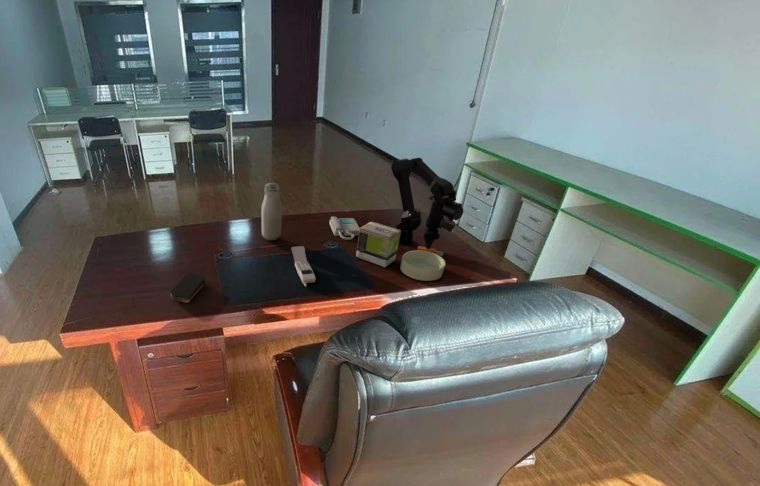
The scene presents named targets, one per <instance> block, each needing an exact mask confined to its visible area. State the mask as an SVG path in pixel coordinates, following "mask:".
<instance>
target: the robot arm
mask: <svg viewBox="0 0 760 486" xmlns="http://www.w3.org/2000/svg"><path fill="white" fill-rule="evenodd" d="M390 166H391V167H390V168H391V172H392V176H393V177H394V178H395V179H396V180H397V183H398V189H399V194H400V195H399V196H400V201H401V207H402V215H401V216H400V220H401V221H400V223H397V224H396V225H395V229H399V230H401V234H400V239H399V244H401V245H407V246H411V243H412V241H413V239H414V234H415V233H414V231H416V230H418V228H419V227H420V226H421V224H422V221H423V218H422V216H421V211H417V209H415V204H414V198H413V192H412V191H413V190H412V186H411V181H410V177H411V173H412V170H413V171H414V172H415V173H416V174H417V175H418V176H419V177H420V178H421V179H422V180H423V181H424V182H425V183H426V184H427V185H428V186H429V191H430V193H431V194H432V195H431V196H429V197H428V200H430V201H432V203H431V205H430V210H429V213H428V216H427V217H426V222H425V229H424V232H423V239H424V243H425V244H424V245H425V247H426V248H427V249H429V248H431V247H432V245H433V243H434V242H435V241H436V240H439V239H440V237H441V231H440V229H444V230H446V231H447V232H450V233H451V232H452V231H453V230H454V229H455V227H456V225H457V224H456V223H457V222H456V221H459V220H460V219H461V218H462V216H463V214H464V212H465V211H464V208H463V203H461V202H457V197H456V194H455V193H456V192H455V189H454V185H453V183H452V182H450V181H449V180H448V179H446V178H444V177H440V176H439V175H438V174H436V172H435V171H434V170H433V169H431V168H430V167H429V166H428V164H427V163H426V162H424V160H423V159H422V158H421V157H414V158H410V159H409V158H402V159H397V160H394V161H393V162H392V164H391V165H390ZM399 244H398V245H399Z"/></svg>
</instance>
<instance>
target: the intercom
mask: <svg viewBox="0 0 760 486" xmlns="http://www.w3.org/2000/svg"><path fill="white" fill-rule="evenodd" d="M329 226H330V228H331V232H332V233H333V236H335V237H340V238H341V239H342V240H345V241H346V240H347V241H350V240H353V239H354V238H355V236H359V231H360V228H361V227H359V225H358V222H357V221H356V219H355V218H352V217H349V218H348V217H347V218H346V217H345V218H343V217H342V218H338V217H337V216H330V219H329ZM347 236H349V237H347Z"/></svg>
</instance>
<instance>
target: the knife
mask: <svg viewBox="0 0 760 486" xmlns="http://www.w3.org/2000/svg"><path fill="white" fill-rule="evenodd" d="M417 250H420V251H428V252H431V253H434V254H437V255H439V256H440V257H442V256H443V255H444V251H440V250H438V249H437V248H434V247H430V248H429V249H427V248H426V246H423V245H418V247H417Z"/></svg>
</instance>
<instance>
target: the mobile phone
mask: <svg viewBox="0 0 760 486" xmlns="http://www.w3.org/2000/svg"><path fill="white" fill-rule="evenodd" d="M290 250H291V253H292V257H293V261H294V267H295V269H296V272H297V274H298V276H299V279H300V281H301V283H302V284H303V285H304V287H305V288H307V287H308V284H313V283H316V282H317V281H316V280H317V279H316V275H315V273H314V271H313V268H312V267H311V265H310V263H309V262H308V259H307V256H306V251H305V250H306V249H305V246H304V245H299V246H291V249H290Z"/></svg>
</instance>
